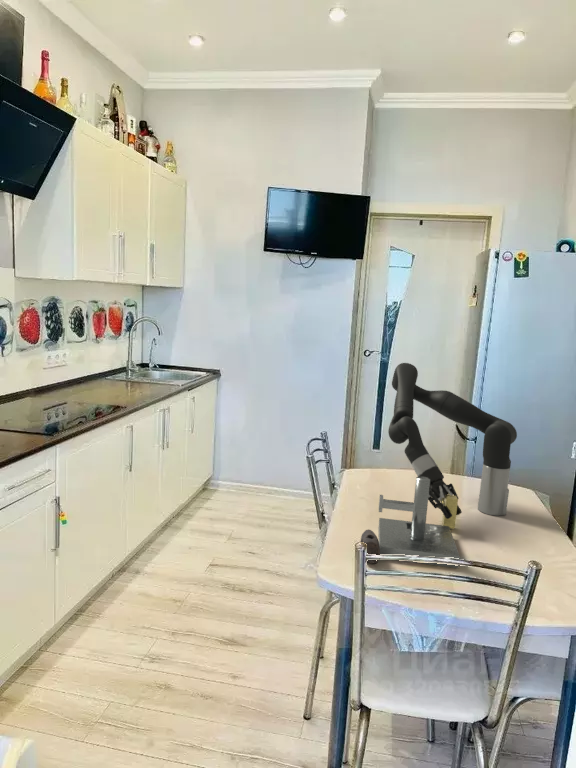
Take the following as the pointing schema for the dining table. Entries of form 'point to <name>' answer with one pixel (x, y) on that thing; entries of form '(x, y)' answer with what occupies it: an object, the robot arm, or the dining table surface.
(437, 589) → the dining table surface
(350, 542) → the dining table surface
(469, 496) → the dining table surface
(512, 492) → the dining table surface
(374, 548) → the perforated stone tool
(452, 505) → the yellow rectangular block
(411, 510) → the rosette post
